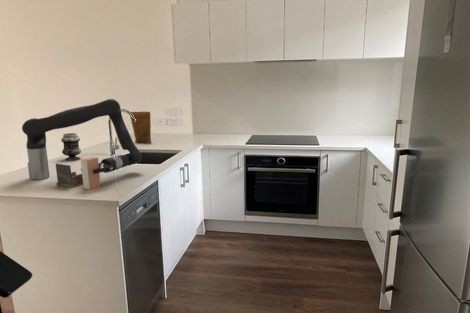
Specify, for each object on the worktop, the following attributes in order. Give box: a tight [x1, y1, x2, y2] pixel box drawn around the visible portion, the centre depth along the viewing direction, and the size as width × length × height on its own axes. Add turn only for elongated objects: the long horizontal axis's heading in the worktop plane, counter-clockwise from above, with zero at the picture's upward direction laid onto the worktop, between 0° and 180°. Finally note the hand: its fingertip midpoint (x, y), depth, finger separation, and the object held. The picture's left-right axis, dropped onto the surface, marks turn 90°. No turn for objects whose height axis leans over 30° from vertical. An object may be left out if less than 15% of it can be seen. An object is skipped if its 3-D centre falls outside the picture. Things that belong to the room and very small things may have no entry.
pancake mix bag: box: [129, 111, 152, 145], centre depth 294 cm, size 7×19×28 cm, turn 72°
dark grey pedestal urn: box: [60, 132, 82, 162], centre depth 234 cm, size 12×12×18 cm
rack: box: [55, 163, 83, 189], centre depth 178 cm, size 12×10×12 cm
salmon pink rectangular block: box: [80, 156, 101, 190], centre depth 172 cm, size 7×4×15 cm, turn 155°
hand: (87, 171), depth 170 cm, fingers open, 8 cm apart
